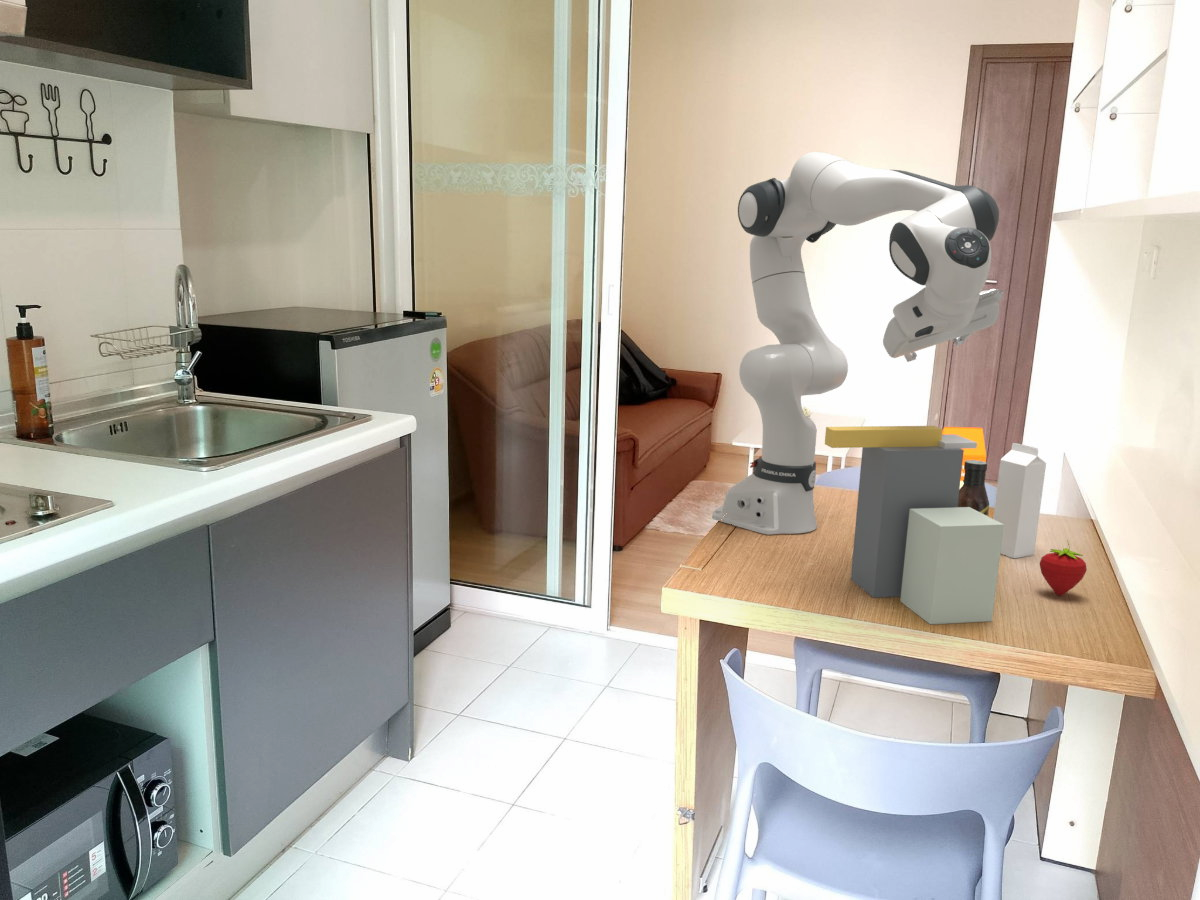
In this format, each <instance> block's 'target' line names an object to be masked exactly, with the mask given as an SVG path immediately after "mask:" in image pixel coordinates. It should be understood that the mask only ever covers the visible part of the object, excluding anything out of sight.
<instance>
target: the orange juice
mask: <svg viewBox="0 0 1200 900" xmlns="http://www.w3.org/2000/svg"><path fill="white" fill-rule="evenodd" d="M942 429H943V433H942V434H956V435H958V436H961V437H964V438H966V439H969V440H972V441H974V442H977V448H971V449H963V450H964V454H963V463H962V472H961V480H960V488H961V487H962V486H963V484H964V483H963V480H964V474H965V470H964V463H965V461H966V460H979V461H984V462H986V463H987V454H986V453H987V452H986V446H985V444H986V443H985V437H984V429H983V427H970V426H969V427H967V426H965V427H963V426H962V427H961V426H944V427H943V428H942ZM959 490H960V489H959Z"/></svg>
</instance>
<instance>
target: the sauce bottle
mask: <svg viewBox="0 0 1200 900" xmlns="http://www.w3.org/2000/svg"><path fill="white" fill-rule="evenodd" d="M964 470H965V474H964V480H963V483H964V484H963V486H962V487H961V488H960V490H959V498H958V507H970V508H972V509H974V510H976V511H978V512H980V513H982V514H984V515H986V516H988V517H989V511H990V510H989V509H990V501H989V498H988V493H987V490H986V483H985V479H986V471H987V470H988V463H987V461H986V462H984V461H979V460H966V461H965V463H964Z"/></svg>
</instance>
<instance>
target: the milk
mask: <svg viewBox="0 0 1200 900" xmlns="http://www.w3.org/2000/svg"><path fill="white" fill-rule="evenodd" d="M1010 449H1011V450H1009V451H1008V452H1007V453H1006V454H1005V455H1003V457H1001V459H1000V462H999V470H998V475H997V486H996V494H995V501H994V509H993V516H992V517H993V518H992V519H994V520H996V521H998V522H1000V523H1002V524H1004V530H1003V538H1002V546H1001V554H1000V555H1002V554H1003V556H1005V555H1006V557H1009V558H1010V559H1013V558H1014V559H1019V558H1024V557H1029V556H1033V555H1035V549H1036V542H1037V535H1038V526H1039V522H1040V521H1039V520H1040V514H1041V513H1040V512H1041V511H1040V510H1041V505H1042V497H1043V492H1044V491H1043V490H1044V483H1045V477H1046V476H1045V475H1046V468H1047V462H1045V460H1043V459H1042V458H1040V456H1039V455H1038V454H1039V448H1038V447H1033V446H1029V445H1026V444H1022V443H1021V444H1020V443H1016V442H1013V443H1012V444H1011V448H1010Z"/></svg>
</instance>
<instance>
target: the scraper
mask: <svg viewBox="0 0 1200 900" xmlns="http://www.w3.org/2000/svg"><path fill="white" fill-rule="evenodd" d="M943 429H944V428H940V427H938V426H935V425H887V426H886V425H885V426H882V425H880V426H873V425H872V426H871V425H869V426H868V425H867V426H825V433H824V434H825V436H824V445H826V446H827V447H829V448H832V449H843V448H845V449H846V448H847V449H848V448H854V449H855V448H863V447H928V446H939V447H941V448H944V449H971V448H977V442H974V441H972V440H969V439H966V438H964V437H961V436H958V435H956V434H942V433H943Z"/></svg>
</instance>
